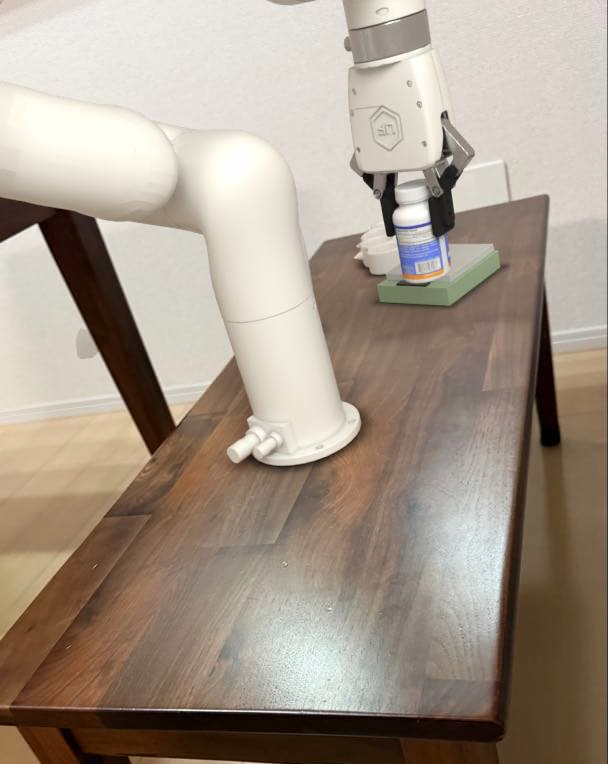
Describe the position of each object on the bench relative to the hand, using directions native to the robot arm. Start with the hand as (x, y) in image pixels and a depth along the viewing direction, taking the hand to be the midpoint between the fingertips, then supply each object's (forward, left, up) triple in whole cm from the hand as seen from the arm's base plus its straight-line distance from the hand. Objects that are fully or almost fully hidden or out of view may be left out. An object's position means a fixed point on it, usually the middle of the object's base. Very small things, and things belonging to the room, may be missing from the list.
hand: (420, 230), depth 90 cm
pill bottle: (0, 0, -5) cm, 5 cm away
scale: (+22, +15, -16) cm, 31 cm away
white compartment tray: (+33, +31, -16) cm, 48 cm away
